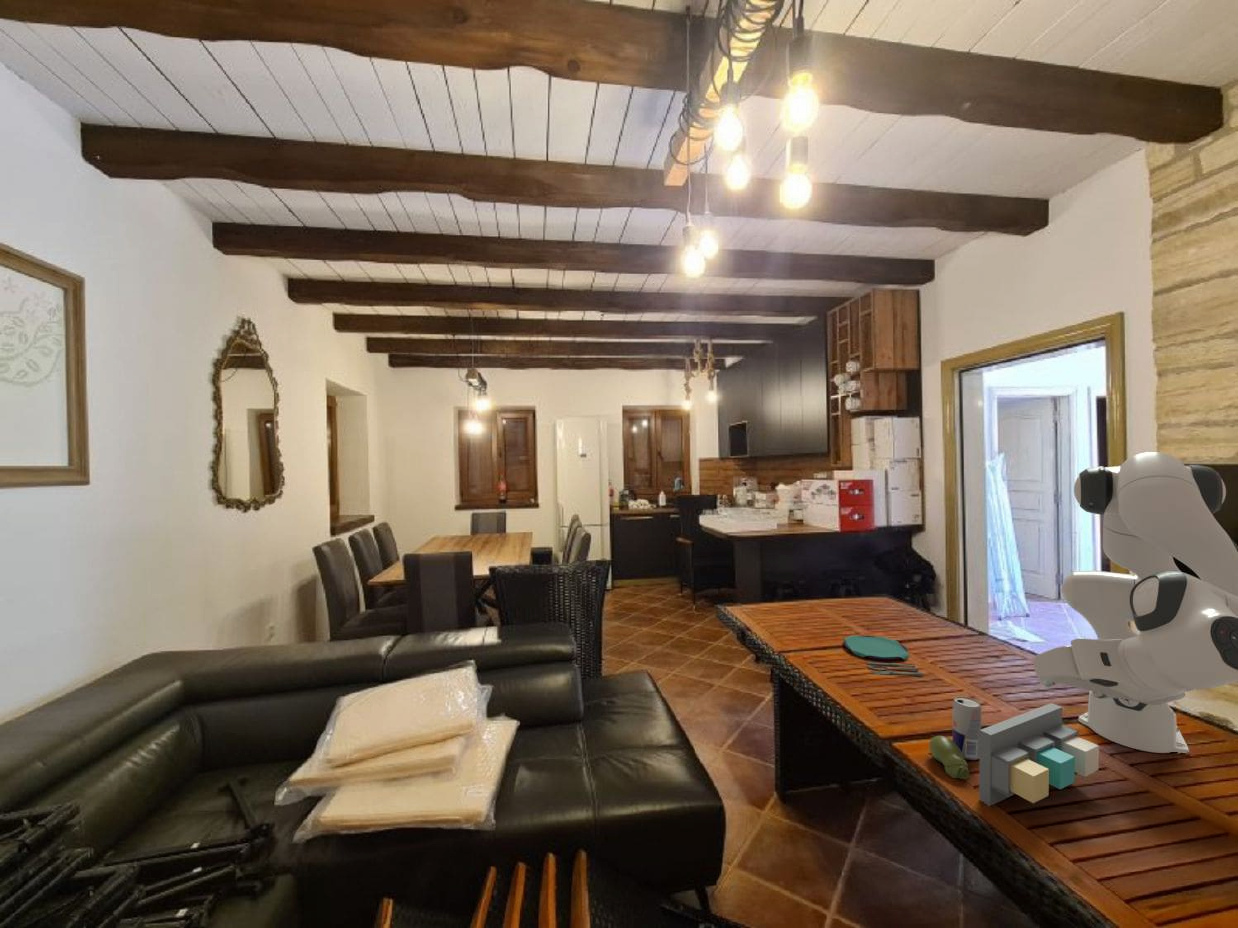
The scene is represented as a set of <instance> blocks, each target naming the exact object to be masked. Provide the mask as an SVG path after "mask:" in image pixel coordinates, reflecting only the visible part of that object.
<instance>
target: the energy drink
mask: <svg viewBox="0 0 1238 928" xmlns="http://www.w3.org/2000/svg"><path fill="white" fill-rule="evenodd" d="M981 729H982V707H981V703H980V702H979V701H977V700H975V699H973V698H971V697H967V696H956V697H954V698H953V700H952V741H953V742H954V743H955V744H956V745H957V746H958V747H959V749H960V750H961V752H962V755H963V759H964V760H969V761H977V760H980V730H981Z"/></svg>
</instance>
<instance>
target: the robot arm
mask: <svg viewBox="0 0 1238 928" xmlns="http://www.w3.org/2000/svg"><path fill="white" fill-rule="evenodd" d="M1073 485H1074V486H1073V494H1074V496H1075V499H1076V502H1077V503H1078V505H1079V507H1080V509H1082V510H1083V511H1085V512H1086V513H1090V514H1095V515H1101V516H1103V522H1102V523H1103V525H1102V528H1103V529H1102V530H1103V531H1102V550H1103V552H1104V553H1103V554H1105V556H1106V557H1107V558H1108V559H1109V560H1110V561H1111V562H1113V563H1114V564H1115V565H1117V566H1119V567H1121V568H1123V569H1126V570H1128V571H1130V572H1132V573H1133V574H1131V573H1130V574H1129V573H1120V572H1119V573H1118V572H1112V571H1105V570H1104V571H1103V570H1076V571H1075V570H1074V571H1072V572H1071V573H1069V574H1068V575H1067V576H1066V577H1065V578H1064V580H1063V582H1062V584H1061V592H1062V593H1061V594H1062V597H1063V598H1064V601H1065V602H1066V604H1067V605H1068V606H1070V608H1071V609H1073V611H1075V612H1077V613H1079V614H1080V615H1081V616H1082V617H1083V618H1084V619H1085V620H1086V622H1088V624H1089V625H1090V626H1091V628H1092V629H1093V631H1094V632H1095V635H1096V638H1097V639H1094V638H1084V637H1083V638H1081V637H1080V638H1079V637H1078V638H1075V639H1072V640H1071V641H1070V645H1062V646H1058V647H1055V648H1052V649H1049V650H1046V651H1043V652H1040V653H1039V654H1037V655H1034V657H1033V658H1032V659H1033V661H1032V662H1033V663H1032V664H1033V668H1034V672H1035V674H1036V676H1037V678H1038V679H1037V680H1038V682H1039V684H1040V686H1041V685H1042V686H1046V687H1048V688H1049V687H1053V686H1056V684H1059V685H1064V686H1067V687H1070V688H1071V687H1072V688H1077V689H1080V690H1085V691H1089V694H1088V705H1087V707H1088V708H1087V711H1086V712H1085V713H1083V714H1081V715H1079V716H1078V719H1077V720H1078V722H1080V723H1081V724H1082V725H1084V726H1087V727H1088V728H1089V729H1091V730H1093V732H1094V733H1096V734H1098V735H1099V736H1100V737H1101V736H1102V737H1103V738H1104V739H1107V740H1109V741H1111V742H1114V743H1116V744H1118V745H1122V746H1125V747H1128V748H1130V749H1136V750H1138V751H1143V752H1149V753H1158V754H1159V753H1160V754H1167V753H1170V752H1178V753H1177V754H1180V753H1181V752H1182V753H1187V752H1189V753H1190V749H1189V747H1188V744H1187V743H1186V741H1185V739H1184V737H1183V735H1182V733H1181V730H1180V729H1179V727H1178V725H1177V714H1176V713H1175V712H1174V710H1173V709H1172V708H1171V707H1170V705H1169V704H1168V703H1173V702H1176V701H1178V700H1182V699H1184V698H1185V697H1186V692H1190V691H1196V690H1197V691H1200V690H1201V691H1203V690H1209V689H1213V688H1215V689H1216V688H1219V687H1224V686H1227V685H1232V684H1235V683H1238V545H1237V543H1235V541H1234V539H1232V538H1231V536H1230V535H1229V534H1228V533H1227V531H1225V529H1224V528H1223V527H1222V525H1220V523H1219V522H1218V520H1217V519H1216V518H1215V516H1214V514H1215V513H1216V512H1218V511H1220V510H1221V507H1222V506H1223V503H1224V501H1225V499H1226V495H1227V491H1226V490H1227V488H1226V485H1225V482H1224V481H1223V479H1222V477H1221V475H1220V473H1219V472H1218V471H1216V470H1215V469H1214V468H1212V467H1209V466H1203V465H1198V464H1188V465H1185V464H1184V463H1183V462H1182V461H1181V460H1180V459H1178V458H1177V457H1175V456H1173V455H1171V454H1169V453H1163V452H1160V451H1149V452H1148V451H1147V452H1141V453H1138V454H1134V455H1132V456H1131V457H1129V458H1127V459H1126V460H1125V461H1124V462H1122V464H1121V465H1115V466H1106V467H1105V466H1103V465H1101V466H1093V467H1089V468H1085V469H1083V470H1082V471H1080V472H1079V474H1078V477H1077V478H1076V480H1075V482H1074V484H1073ZM1174 558H1175V559H1176V560H1178V561H1180V562H1181V563H1183V564H1184V565H1185V566H1187V567H1188V568H1189V569H1190V570H1192V571H1193V572H1194V573H1195V574H1196V576H1198V577H1196V576H1194V575H1191V574H1188V573H1186V572H1182V571H1181V570H1180V569H1179V567H1178V566H1177V564H1176V563H1175V560H1174ZM1129 622H1134V624H1135V627H1136V629H1137V631H1138V632H1139V633H1138V632H1136V631H1134V630H1133V628H1131V627H1130V626H1129V624H1128V623H1129Z"/></svg>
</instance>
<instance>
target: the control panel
mask: <svg viewBox="0 0 1238 928" xmlns="http://www.w3.org/2000/svg"><path fill="white" fill-rule="evenodd" d="M1062 723H1063V706H1060V705H1057V704H1055V703H1052V702H1050V703H1048V704H1045V705H1042V706H1040V707H1037V708H1035V709H1034V708H1033V709H1031V710H1029V711H1026V712H1024V713H1021V714H1018V715H1015V716H1013V717H1011V718H1007V719H1005V720H1003V721H1000V722H997V723H995V724H992V725H990V726H989V725H988V726H987V727H983V728H981V730H980V758H979V765H978V767H979V768H978V770H979V773H978V774H979V775H978V777H979V778H978V779H979V781H978V800H979V799H980V800H981V801H980V800H979V801H980V802H982V801H983V802H984V804H985V805H987V804H988V805H987V806H988V807H991V805H992V806H993V805H996V804H997V803H999V802H1002V801H1003V800H1006V799H1008V798H1010V797H1012V796H1015V795H1016V794H1015V793H1013V792H1011V791H1010V764H1011V763H1014V762H1016V761H1018V760H1020V759H1023V758H1027V759H1029V760H1031V761H1033V762H1035V763H1037V752H1039V751H1041V750H1043V749H1045V748H1048V747H1050V746H1051V747H1054V748H1056V749H1058V750H1060V751H1062V741H1063V740H1066V739H1068V738H1070V737H1072V736H1077V737H1079V738H1080V736H1079V733H1080V732H1079V730H1078V729H1075V728H1072V727H1070V726H1068V725H1065V724H1062ZM983 802H982V803H983Z"/></svg>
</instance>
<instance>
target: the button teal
mask: <svg viewBox="0 0 1238 928" xmlns="http://www.w3.org/2000/svg"><path fill="white" fill-rule="evenodd" d="M1037 764H1039V765H1041V766H1043V767H1046V768H1048V769H1049V786H1050V785H1051V786H1053V787H1055V788H1057V789H1058V790H1062V789H1064V788H1066V787H1068V786H1070V785H1072V784H1074V783H1075V776H1076V775H1075V774H1076V772H1075V757H1074V756H1072V755H1069V754H1067V753H1065V752H1063V751H1060V750H1058V749H1056V748H1054V747H1051V746H1050V747H1048V748H1045V749H1043V750H1041V751H1039V752H1037Z"/></svg>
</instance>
